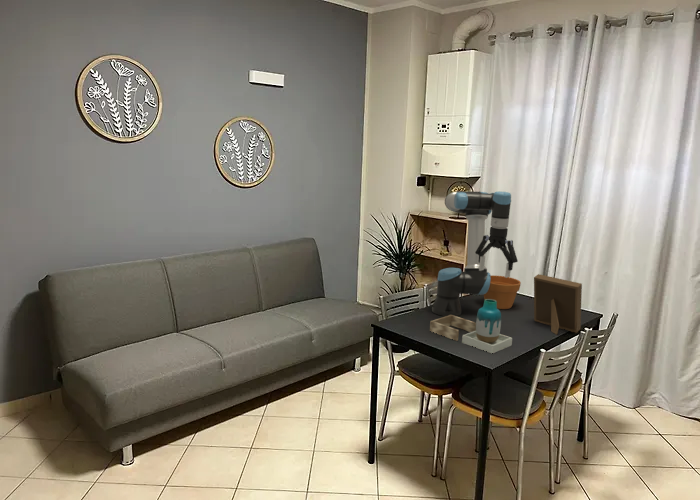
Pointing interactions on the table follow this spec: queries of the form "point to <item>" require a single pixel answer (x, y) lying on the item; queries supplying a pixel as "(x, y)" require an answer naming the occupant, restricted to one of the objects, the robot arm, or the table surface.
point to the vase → (488, 322)
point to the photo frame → (557, 303)
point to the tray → (489, 347)
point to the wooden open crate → (443, 325)
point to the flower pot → (503, 291)
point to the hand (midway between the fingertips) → (494, 273)
